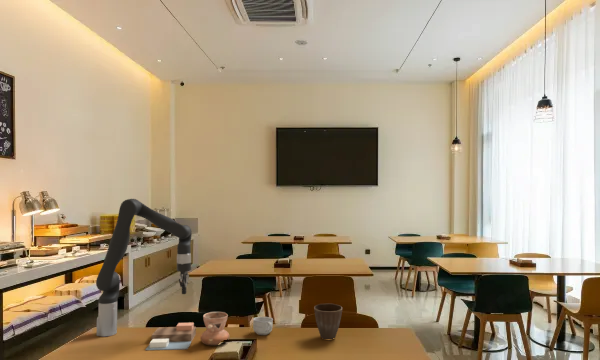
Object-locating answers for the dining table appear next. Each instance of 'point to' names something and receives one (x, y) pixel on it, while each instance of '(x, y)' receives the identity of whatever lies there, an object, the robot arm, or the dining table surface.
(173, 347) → the rubber mat
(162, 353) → the dining table surface
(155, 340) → the cream block
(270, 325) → the teacup
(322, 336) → the plant pot
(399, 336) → the dining table surface
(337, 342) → the dining table surface
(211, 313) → the ceramic jug
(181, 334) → the walnut stand
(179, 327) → the terracotta block
